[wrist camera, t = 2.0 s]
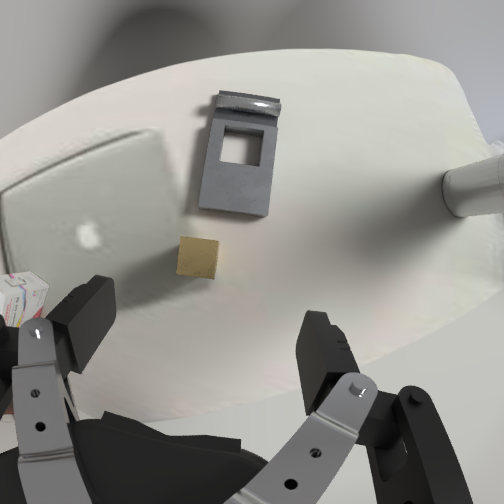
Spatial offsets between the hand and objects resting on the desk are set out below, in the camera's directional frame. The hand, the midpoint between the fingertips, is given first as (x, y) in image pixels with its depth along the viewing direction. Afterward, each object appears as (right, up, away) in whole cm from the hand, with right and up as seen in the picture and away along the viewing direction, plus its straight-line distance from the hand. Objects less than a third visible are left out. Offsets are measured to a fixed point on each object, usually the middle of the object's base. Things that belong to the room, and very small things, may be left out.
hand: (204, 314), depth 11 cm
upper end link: (0, +14, +28) cm, 31 cm away
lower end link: (+1, +19, +28) cm, 34 cm away
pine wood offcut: (-5, +2, +27) cm, 28 cm away
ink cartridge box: (-34, -5, +25) cm, 42 cm away
